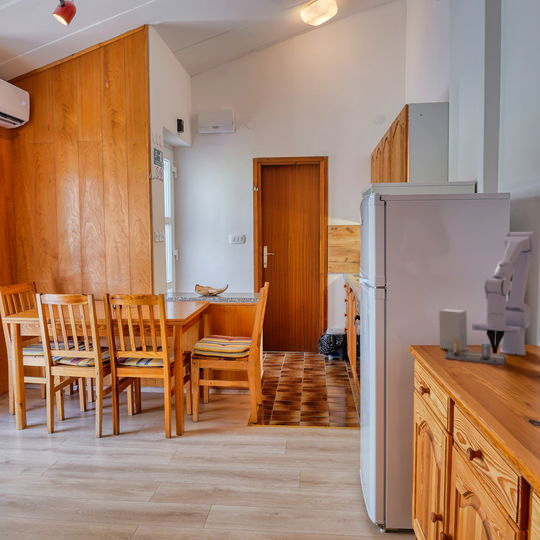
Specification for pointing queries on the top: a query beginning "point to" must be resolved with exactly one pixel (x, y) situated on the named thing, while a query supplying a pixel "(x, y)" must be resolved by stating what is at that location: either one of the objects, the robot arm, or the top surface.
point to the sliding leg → (486, 349)
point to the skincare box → (453, 328)
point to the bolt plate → (473, 355)
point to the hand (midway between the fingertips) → (494, 352)
